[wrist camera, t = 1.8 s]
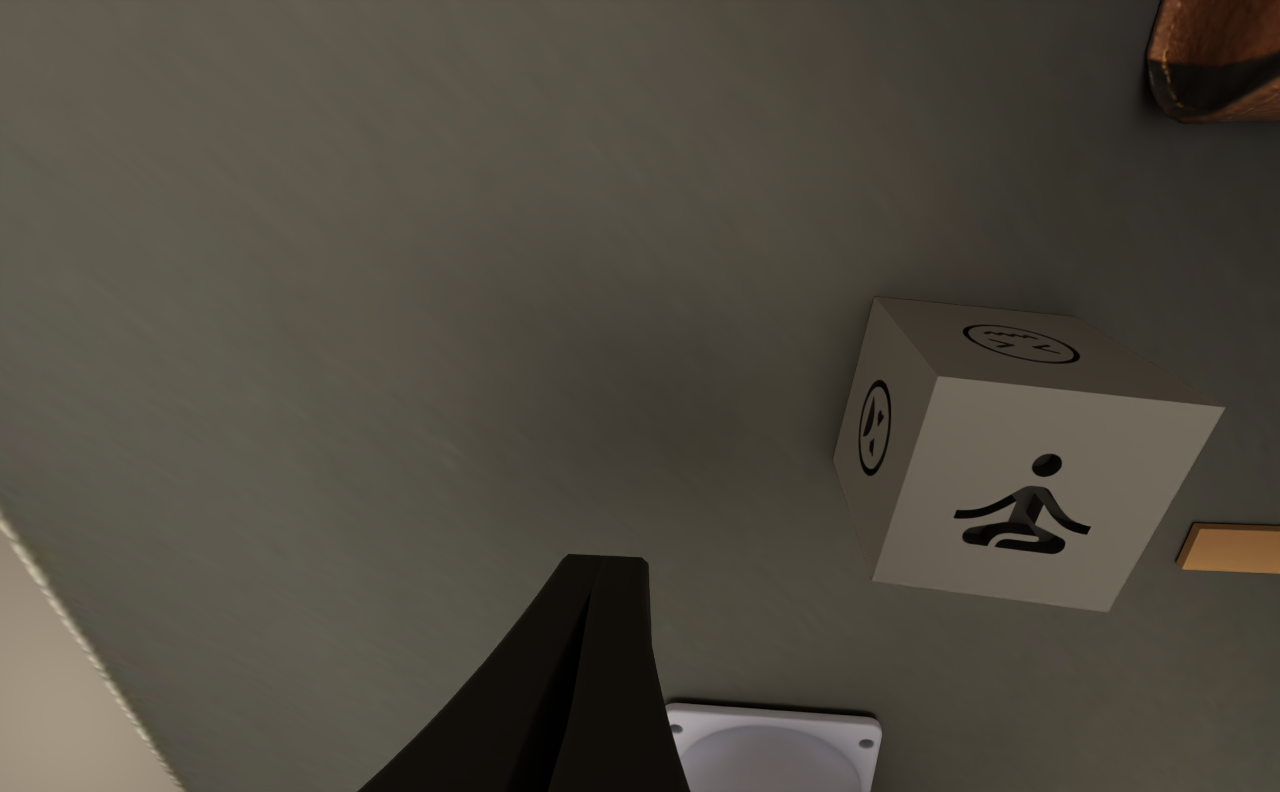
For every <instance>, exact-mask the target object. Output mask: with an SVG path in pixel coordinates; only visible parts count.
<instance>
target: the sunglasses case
mask: <svg viewBox="0 0 1280 792" xmlns="http://www.w3.org/2000/svg"><path fill="white" fill-rule="evenodd" d="M1147 61H1148V72H1149V84H1150V88H1151V91H1152V93H1153V95H1154V97H1155V100H1156V102H1157V104H1158V106H1159V107H1160V108H1161V109H1162V110H1163V112H1164V113H1165V115H1166V116H1167V117H1169V118H1171V119H1174V120H1176V121H1177V122H1179V123H1183V124H1207V123H1220V122H1260V121H1280V0H1162V1H1161V4H1160V8H1159V11H1158V15H1157V18H1156V22H1155V26H1154V30H1153V33H1152V36H1151V40H1150V42H1149V45H1148V48H1147Z"/></svg>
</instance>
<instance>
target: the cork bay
mask: <svg viewBox="0 0 1280 792" xmlns="http://www.w3.org/2000/svg"><path fill="white" fill-rule="evenodd" d="M1176 563H1177V564H1178V565H1179V566H1180V567H1181V568H1182V569H1185V570H1208V571H1231V572H1254V573H1277V574H1280V526H1265V525H1236V524H1208V523H1194V524H1193V526H1192V529H1191V531H1190V533H1189V535H1188V537H1187V540H1186V542H1185V544H1184V546H1183V549H1182V551H1181V553H1180V555H1179V557H1178V560H1177V562H1176Z"/></svg>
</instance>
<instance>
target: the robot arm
mask: <svg viewBox="0 0 1280 792" xmlns="http://www.w3.org/2000/svg"><path fill="white" fill-rule="evenodd" d="M881 738H882V730H881V726H880V723H879V722H878V721H877V720H875V719H874V718H871V717H863V716H849V715H836V714H822V713H808V712H795V711H781V710H767V709H754V708H740V707H726V706H713V705H699V704H686V703H670V704H668V705H666V706H665V704H664V700H663V696H662V692H661V687H660V683H659V679H658V674H657V669H656V664H655V659H654V654H653V648H652V637H651V613H650V590H649V566H648V563H647V562H646V561H645V560H644V559H643V558H642V557H622V556H600V555H578V554H568V555H567V556H566V557H564V558H563V559H562V561H561V562H560V563H559V565H558V566H557V568H556V569H555V571H554V572H553V574H552V575H551V576H550V578H549V579H548V581H547V582H546V583H545V585H544V586H543V588H542V589H541V590H540V592H539V593H538V595H537V596H536V597H535V599H534V600H533V601H532V603H531V604H530V605H529V607H528V608H527V609H526V610H525V612H524V613H523V614H522V616H521V617H520V618H519V620H518V621H517V622H516V623H515V625H514V626H513V627H512V628H511V630H510V631H509V632H508V633H507V635H506V636H505V637H504V638H503V640H502V641H501V642H500V643H499V645H498V646H497V647H496V648H495V649H494V651H493V652H492V653H491V654H490V656H489V657H488V658H487V659H486V660H485V662H484V663H483V664H482V665H481V666H480V667H479V668H478V669H477V671H476V672H475V673H474V674H473V675H472V676H471V677H470V678H469V680H468V681H467V682H466V683H465V684H464V685H463V686H462V687H461V689H460V690H459V691H458V692H457V693H456V694H455V695H454V696H453V698H452V699H451V700H450V701H449V702H448V703H447V704H446V705H445V706H444V708H443V709H442V710H441V711H440V712H439V713H438V714H437V715H436V716H435V717H434V718H433V719H432V720H431V721H430V722H429V723H428V724H427V725H426V726H425V727H424V728H423V729H422V730H421V731H420V732H419V733H418V735H417V736H416V737H415V738H414V739H413V740H412V741H411V742H409V743H408V744H407V745H406V746H405V747H404V748H403V749H402V750H401V751H400V752H399V753H398V754H397V755H396V756H395V757H394V758H393V759H392V760H391V761H390V762H389V763H388V764H387V765H386V766H385V767H384V768H383V769H382V770H381V771H379V772H378V773H377V774H376V775H375V776H374V777H373V778H372V779H371V780H369V781H368V782H367V783H366V784H365V785H364V786H363V787H362V788H361V789H360V790H358V791H357V792H870V791H871V786H872V781H873V776H874V772H875V767H876V762H877V757H878V753H879V748H880V743H881Z"/></svg>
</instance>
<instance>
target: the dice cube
mask: <svg viewBox="0 0 1280 792" xmlns="http://www.w3.org/2000/svg"><path fill="white" fill-rule="evenodd" d="M1224 409H1225V407H1224V406H1222V405H1220V404H1219V403H1217V402H1216V401H1214V400H1212V399H1211V398H1209V397H1207V396H1206V395H1204V394H1202V393H1201V392H1199V391H1197V390H1196V389H1194V388H1193V387H1191V386H1189V385H1188V384H1186V383H1184V382H1183V381H1181V380H1179V379H1178V378H1176V377H1174V376H1173V375H1171V374H1169V373H1168V372H1166V371H1165V370H1163V369H1161V368H1160V367H1158V366H1156V365H1155V364H1153V363H1151V362H1150V361H1148V360H1146V359H1145V358H1143V357H1142V356H1140V355H1138V354H1137V353H1135V352H1133V351H1132V350H1130V349H1128V348H1127V347H1125V346H1123V345H1122V344H1120V343H1118V342H1117V341H1115V340H1114V339H1112V338H1110V337H1109V336H1107V335H1105V334H1104V333H1102V332H1100V331H1099V330H1097V329H1095V328H1094V327H1092V326H1091V325H1089V324H1087V323H1086V322H1084V321H1082V320H1081V319H1079V318H1077V317H1073V316H1063V315H1053V314H1043V313H1033V312H1024V311H1014V310H1004V309H994V308H984V307H974V306H964V305H954V304H945V303H935V302H925V301H915V300H905V299H895V298H885V297H875V296H874V300H873V304H872V308H871V312H870V316H869V320H868V324H867V327H866V331H865V335H864V339H863V343H862V347H861V351H860V355H859V359H858V363H857V367H856V371H855V374H854V378H853V382H852V386H851V390H850V394H849V398H848V402H847V406H846V410H845V414H844V418H843V422H842V425H841V429H840V433H839V437H838V441H837V445H836V449H835V453H834V457H833V463H834V466H835V469H836V472H837V475H838V478H839V481H840V484H841V487H842V491H843V494H844V497H845V500H846V503H847V506H848V509H849V512H850V515H851V518H852V521H853V525H854V528H855V531H856V534H857V537H858V540H859V543H860V546H861V549H862V552H863V555H864V559H865V562H866V565H867V568H868V571H869V574H870V577H871V580H872V581H875V582H883V583H890V584H898V585H905V586H913V587H921V588H928V589H936V590H943V591H951V592H958V593H966V594H973V595H981V596H989V597H996V598H1004V599H1011V600H1019V601H1026V602H1034V603H1041V604H1049V605H1057V606H1064V607H1072V608H1079V609H1087V610H1094V611H1102V612H1108V611H1109V609H1110V608H1111V606H1112V604H1113V602H1114V601H1115V599H1116V597H1117V595H1118V594H1119V592H1120V590H1121V589H1122V587H1123V585H1124V583H1125V582H1126V580H1127V578H1128V576H1129V575H1130V573H1131V571H1132V569H1133V568H1134V566H1135V564H1136V562H1137V561H1138V559H1139V557H1140V555H1141V554H1142V552H1143V550H1144V548H1145V547H1146V545H1147V543H1148V541H1149V540H1150V538H1151V536H1152V535H1153V533H1154V531H1155V529H1156V528H1157V526H1158V524H1159V522H1160V521H1161V519H1162V517H1163V515H1164V514H1165V512H1166V510H1167V508H1168V507H1169V505H1170V503H1171V501H1172V500H1173V498H1174V496H1175V494H1176V493H1177V491H1178V489H1179V488H1180V486H1181V484H1182V482H1183V481H1184V479H1185V477H1186V475H1187V474H1188V472H1189V470H1190V468H1191V467H1192V465H1193V463H1194V461H1195V460H1196V458H1197V456H1198V454H1199V453H1200V451H1201V449H1202V447H1203V446H1204V444H1205V442H1206V440H1207V439H1208V437H1209V435H1210V434H1211V432H1212V430H1213V428H1214V427H1215V425H1216V423H1217V421H1218V420H1219V418H1220V416H1221V414H1222V413H1223V411H1224Z"/></svg>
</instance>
